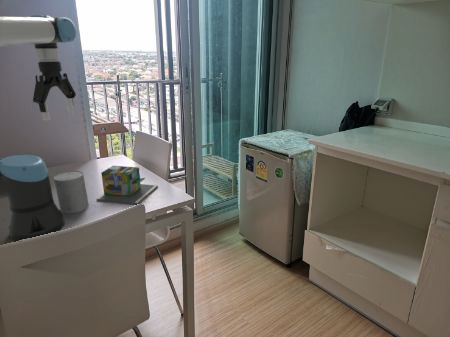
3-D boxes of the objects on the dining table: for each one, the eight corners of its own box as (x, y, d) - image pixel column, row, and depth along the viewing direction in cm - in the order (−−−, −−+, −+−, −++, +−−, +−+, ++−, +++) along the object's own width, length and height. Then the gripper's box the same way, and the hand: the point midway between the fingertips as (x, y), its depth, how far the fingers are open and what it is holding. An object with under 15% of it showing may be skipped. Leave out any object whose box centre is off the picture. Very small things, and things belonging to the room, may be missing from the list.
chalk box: (103, 194, 125) (138, 198, 122) (100, 172, 122) (136, 175, 119) (115, 185, 134) (149, 189, 131) (113, 164, 131) (147, 167, 128)
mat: (137, 205, 118) (137, 202, 118) (96, 200, 122) (96, 198, 122) (157, 187, 134) (157, 185, 133) (120, 184, 138) (120, 182, 137)
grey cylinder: (54, 211, 115) (47, 178, 111) (74, 200, 123) (69, 169, 119) (74, 215, 111) (68, 182, 107) (94, 203, 120) (89, 172, 116)
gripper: (63, 60, 134) (72, 111, 141) (12, 62, 111) (26, 123, 118) (79, 60, 132) (87, 112, 139) (31, 61, 109) (43, 123, 116)
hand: (59, 117), depth 129 cm, fingers open, 13 cm apart
